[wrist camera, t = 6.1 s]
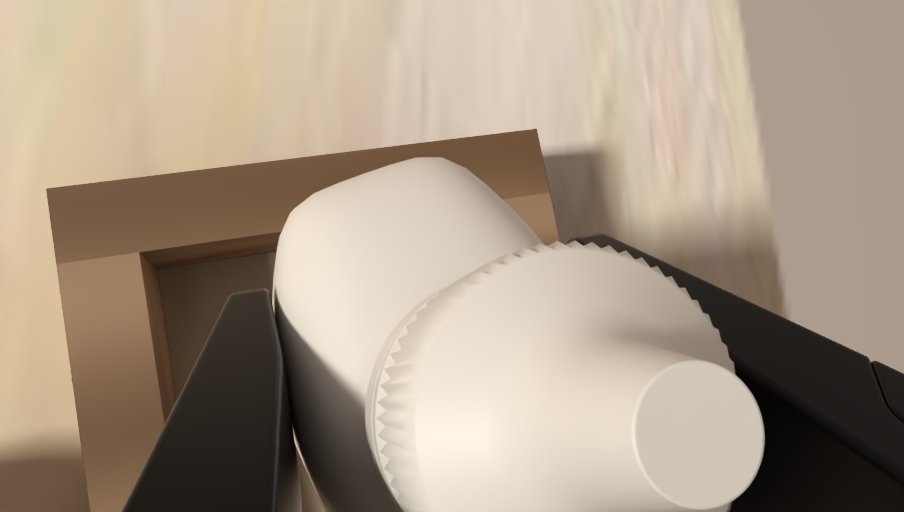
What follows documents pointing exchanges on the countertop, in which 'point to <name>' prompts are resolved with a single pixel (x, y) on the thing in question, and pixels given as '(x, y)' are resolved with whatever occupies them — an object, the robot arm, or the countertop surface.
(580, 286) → the eye dropper bottle
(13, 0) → the countertop surface
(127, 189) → the socket block
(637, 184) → the countertop surface
